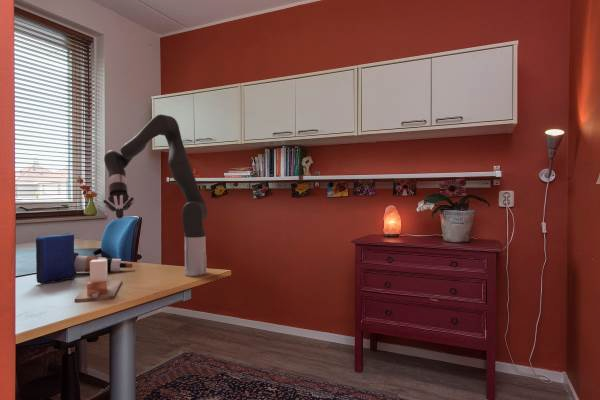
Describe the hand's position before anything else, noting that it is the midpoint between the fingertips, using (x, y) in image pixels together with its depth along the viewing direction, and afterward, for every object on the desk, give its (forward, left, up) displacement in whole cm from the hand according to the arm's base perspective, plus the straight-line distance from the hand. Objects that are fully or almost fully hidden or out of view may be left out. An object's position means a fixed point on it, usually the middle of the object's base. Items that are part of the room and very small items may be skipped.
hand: (120, 217), depth 164 cm
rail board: (+5, +22, -27) cm, 35 cm away
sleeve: (+5, +25, -25) cm, 36 cm away
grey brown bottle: (+14, -18, -27) cm, 35 cm away
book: (+25, -3, -27) cm, 37 cm away
